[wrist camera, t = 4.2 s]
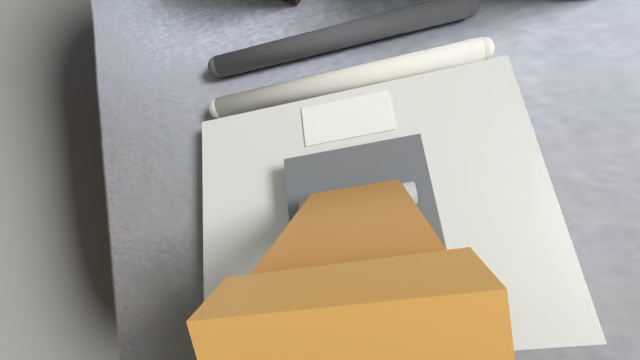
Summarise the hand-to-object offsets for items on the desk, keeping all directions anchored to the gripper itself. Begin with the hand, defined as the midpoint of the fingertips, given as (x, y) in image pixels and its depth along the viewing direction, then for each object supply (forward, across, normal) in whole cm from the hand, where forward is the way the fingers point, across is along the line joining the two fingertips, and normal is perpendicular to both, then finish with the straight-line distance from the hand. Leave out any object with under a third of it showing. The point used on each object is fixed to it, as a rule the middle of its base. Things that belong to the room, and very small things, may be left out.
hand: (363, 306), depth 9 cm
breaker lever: (+6, 0, 0) cm, 6 cm away
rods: (+15, 0, -4) cm, 16 cm away
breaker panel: (+8, 0, +3) cm, 9 cm away
